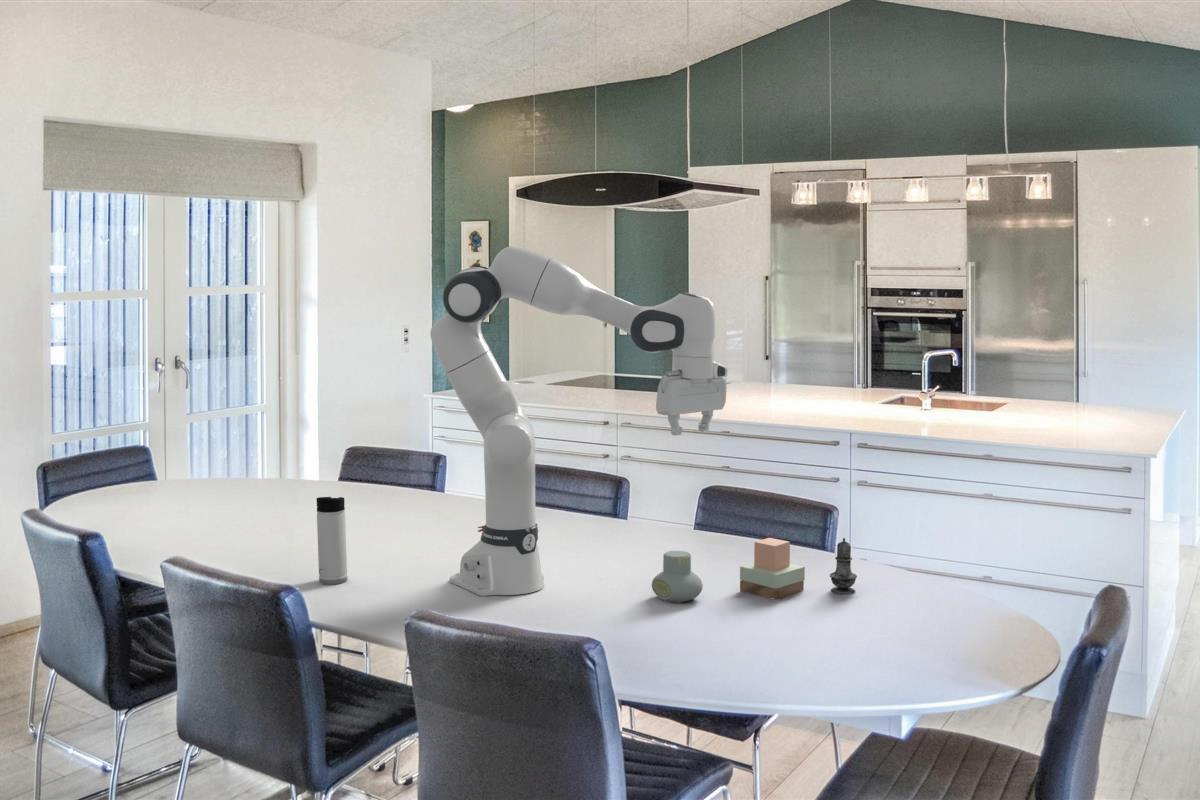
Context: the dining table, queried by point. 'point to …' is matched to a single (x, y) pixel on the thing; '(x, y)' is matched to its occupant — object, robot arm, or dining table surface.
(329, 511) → the travel mug
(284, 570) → the dining table surface
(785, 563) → the terracotta block
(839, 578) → the dark turned finial
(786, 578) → the sage top block
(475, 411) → the robot arm
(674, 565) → the air freshener
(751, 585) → the walnut base block
